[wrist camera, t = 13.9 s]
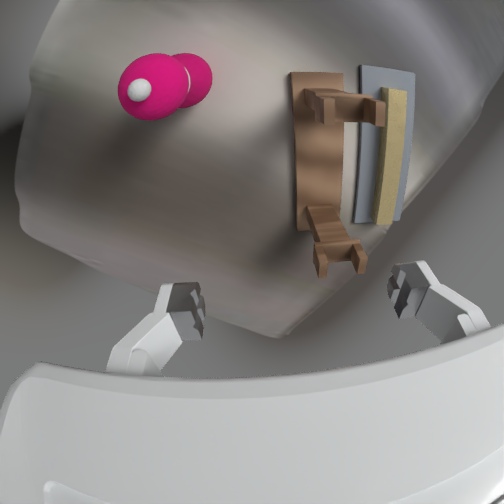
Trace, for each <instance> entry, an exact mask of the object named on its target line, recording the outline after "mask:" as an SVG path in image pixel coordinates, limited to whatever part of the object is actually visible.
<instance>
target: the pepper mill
mask: <svg viewBox="0 0 504 504" xmlns="http://www.w3.org/2000/svg"><path fill="white" fill-rule="evenodd" d="M211 85H212V72H211V69H210V67H209V65H208V64H207V63H206V61H204V60H203V59H202V58H200V57H199V56H197V55H194V54H189V53H182V54H176V55H173V56H169V55H166V54H161V53H156V54H149V55H145V56H142V57H140V58H138V59H136V60H135V61H133V62H132V63H131V64H130V65H129V66H128V67H127V68H126V69H125V71H124V72H123V74H122V76H121V78H120V81H119V85H118V96H119V100H120V103H121V105H122V107H123V108H124V109H125V110H126V111H127V112H128V113H129V114H130V115H132V116H134V117H135V118H138V119H141V120H157V119H161V118H164V117H167V116H169V115H170V114H172V113H174V112H175V111H176V110H177V109H178V108H186V107H190V106H193V105H195V104H197V103H199V102H200V101H201V100H203V99H204V98H205V97H206V95H207V94H208V92H209V90H210V88H211Z"/></svg>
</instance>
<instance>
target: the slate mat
mask: <svg viewBox="0 0 504 504" xmlns="http://www.w3.org/2000/svg"><path fill="white" fill-rule="evenodd" d="M381 87H388V88H395V89H401V90H405V91H407V105H406V123H405V136H404V147H403V156H402V165H401V173H400V180H399V186H398V193H397V199H396V205H395V210H394V216H393V221H398V220H400V216H401V211H402V206H403V200H404V195H405V189H406V183H407V176H408V169H409V161H410V153H411V144H412V134H413V121H414V103H415V73H411V72H406V71H400V70H394V69H388V68H381V67H374V66H366V65H360V94H367V95H373V99H377V100H380V101H381ZM379 136H380V126H374V125H372V124H371V123H364V122H360V143H359V162H358V176H357V188H356V199H355V209H354V218H353V221H354V223H366V222H374V221H373V220H372V218H371V213H372V206H373V199H374V191H375V182H376V173H377V163H378V151H379Z"/></svg>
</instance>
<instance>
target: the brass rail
mask: <svg viewBox="0 0 504 504" xmlns="http://www.w3.org/2000/svg"><path fill="white" fill-rule="evenodd" d="M381 101H383V102H385V103H386V106H385V127H382V126H380V136H379V151H378V163H377V173H376V182H375V191H374V199H373V206H372V213H371V218H372V220H373V221H374V222H375V224H376V225H385V224H392V221H393V216H394V210H395V205H396V199H397V193H398V186H399V180H400V173H401V165H402V156H403V147H404V136H405V123H406V105H407V91H405V90H401V89H395V88H388V87H381Z"/></svg>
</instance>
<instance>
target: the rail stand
mask: <svg viewBox="0 0 504 504" xmlns="http://www.w3.org/2000/svg"><path fill="white" fill-rule="evenodd" d="M290 74H291V88H292V103H293V121H294V143H295V171H296V228H297V231H308V230H311V232H312V235H313V238H314V241H315V242H314V251H313V263H314V264H315V268H316V271H317V275H318V278H325V277H327V268H328V263H331V262H341V261H352V263H353V266H354V268H355V270H356V272H357V274H361V273H365V269H366V264H367V259H368V258H367V256H366V254H365V252H364V250H363V248H362V246H361V244H360V240H359V239H350V238H349V236H348V234H347V232H346V230H345V228H344V226H343V224H342V222H341V220H340V218H339V217H340V204H341V190H342V171H343V144H344V122H364V123H371V124H372V125H374V126H382V127H385V106H386V103H385V102H383V101H380V100H377V99H373V95H367V94H353V93H347V92H344V89H343V73H326V72H290Z"/></svg>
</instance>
